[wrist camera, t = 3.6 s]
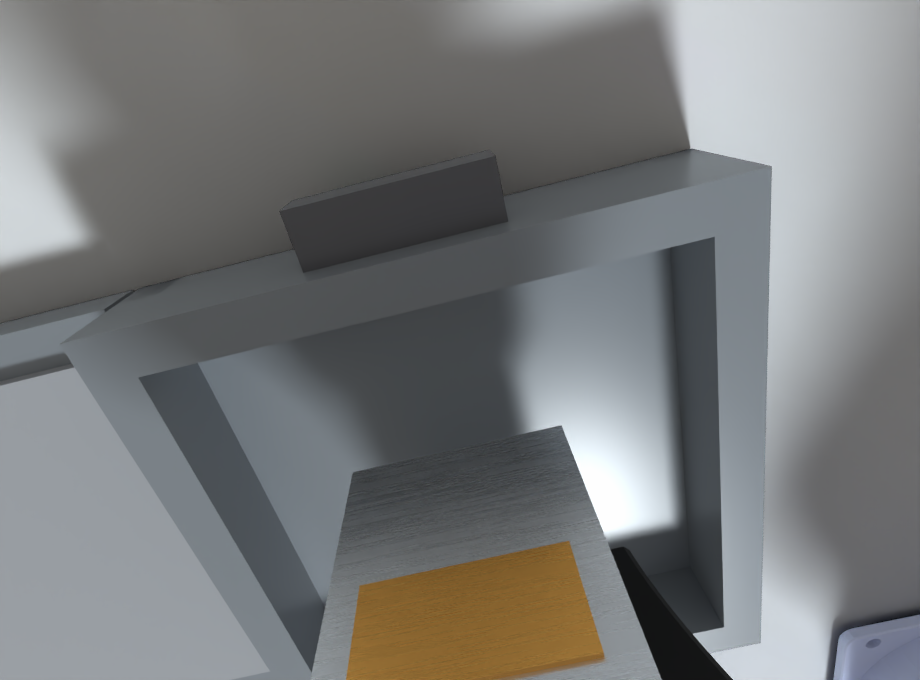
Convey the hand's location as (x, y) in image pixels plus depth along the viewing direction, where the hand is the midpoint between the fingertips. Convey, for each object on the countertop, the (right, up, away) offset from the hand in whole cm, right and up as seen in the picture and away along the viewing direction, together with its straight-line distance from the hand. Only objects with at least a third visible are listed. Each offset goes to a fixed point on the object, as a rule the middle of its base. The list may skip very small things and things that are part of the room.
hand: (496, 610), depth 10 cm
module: (0, +1, +1) cm, 1 cm away
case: (-7, +1, +5) cm, 8 cm away
